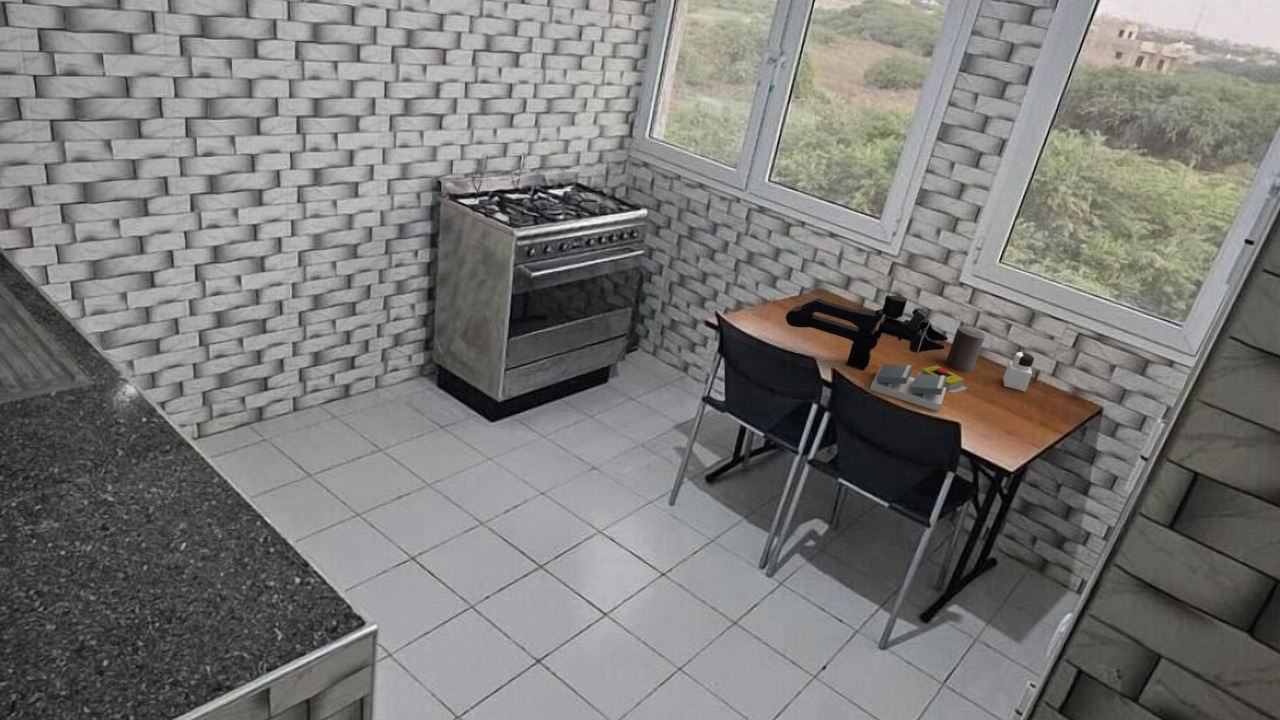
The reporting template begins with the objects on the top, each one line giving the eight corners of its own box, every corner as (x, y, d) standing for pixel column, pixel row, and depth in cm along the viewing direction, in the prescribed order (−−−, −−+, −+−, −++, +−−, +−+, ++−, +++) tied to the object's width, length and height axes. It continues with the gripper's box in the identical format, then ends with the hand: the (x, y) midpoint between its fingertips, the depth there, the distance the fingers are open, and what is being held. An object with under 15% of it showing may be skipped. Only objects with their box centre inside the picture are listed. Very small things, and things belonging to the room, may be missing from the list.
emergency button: (934, 360, 294) (971, 378, 283) (930, 371, 295) (967, 390, 285) (918, 364, 288) (956, 383, 278) (915, 375, 290) (952, 395, 280)
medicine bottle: (1023, 384, 296) (1035, 353, 292) (1025, 392, 290) (1037, 360, 285) (1002, 378, 298) (1014, 348, 293) (1003, 386, 292) (1015, 355, 287)
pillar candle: (943, 366, 301) (957, 328, 294) (947, 357, 309) (960, 320, 302) (971, 374, 297) (985, 336, 291) (974, 365, 306) (988, 328, 299)
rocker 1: (877, 381, 271) (877, 375, 270) (883, 369, 281) (883, 363, 280) (906, 383, 267) (906, 377, 266) (911, 371, 277) (911, 365, 276)
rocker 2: (911, 392, 267) (911, 386, 266) (916, 379, 277) (916, 373, 276) (941, 394, 263) (941, 388, 262) (945, 381, 273) (945, 375, 273)
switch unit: (870, 389, 272) (873, 379, 270) (878, 374, 285) (881, 364, 283) (938, 411, 265) (942, 400, 263) (944, 394, 277) (947, 384, 276)
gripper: (900, 314, 268) (950, 328, 262) (909, 299, 283) (956, 312, 278) (890, 345, 272) (939, 360, 267) (900, 329, 288) (946, 343, 283)
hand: (945, 343), depth 274 cm, fingers open, 9 cm apart
